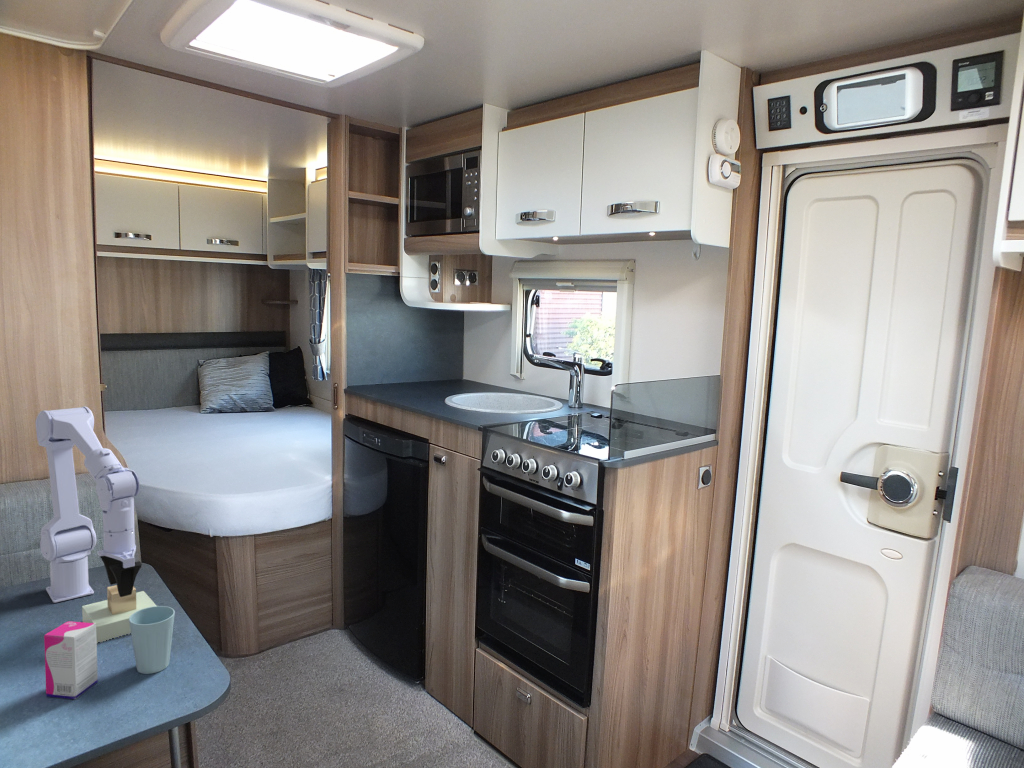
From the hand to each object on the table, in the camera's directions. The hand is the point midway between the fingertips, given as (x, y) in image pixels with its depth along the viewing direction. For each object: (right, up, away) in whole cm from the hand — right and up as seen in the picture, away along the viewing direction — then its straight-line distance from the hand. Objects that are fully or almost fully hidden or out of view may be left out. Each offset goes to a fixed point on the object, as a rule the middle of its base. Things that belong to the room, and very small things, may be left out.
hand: (120, 589), depth 142 cm
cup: (+15, -11, -15) cm, 23 cm away
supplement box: (+5, -11, -23) cm, 26 cm away
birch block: (0, -4, 0) cm, 4 cm away
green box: (0, -8, +1) cm, 8 cm away
